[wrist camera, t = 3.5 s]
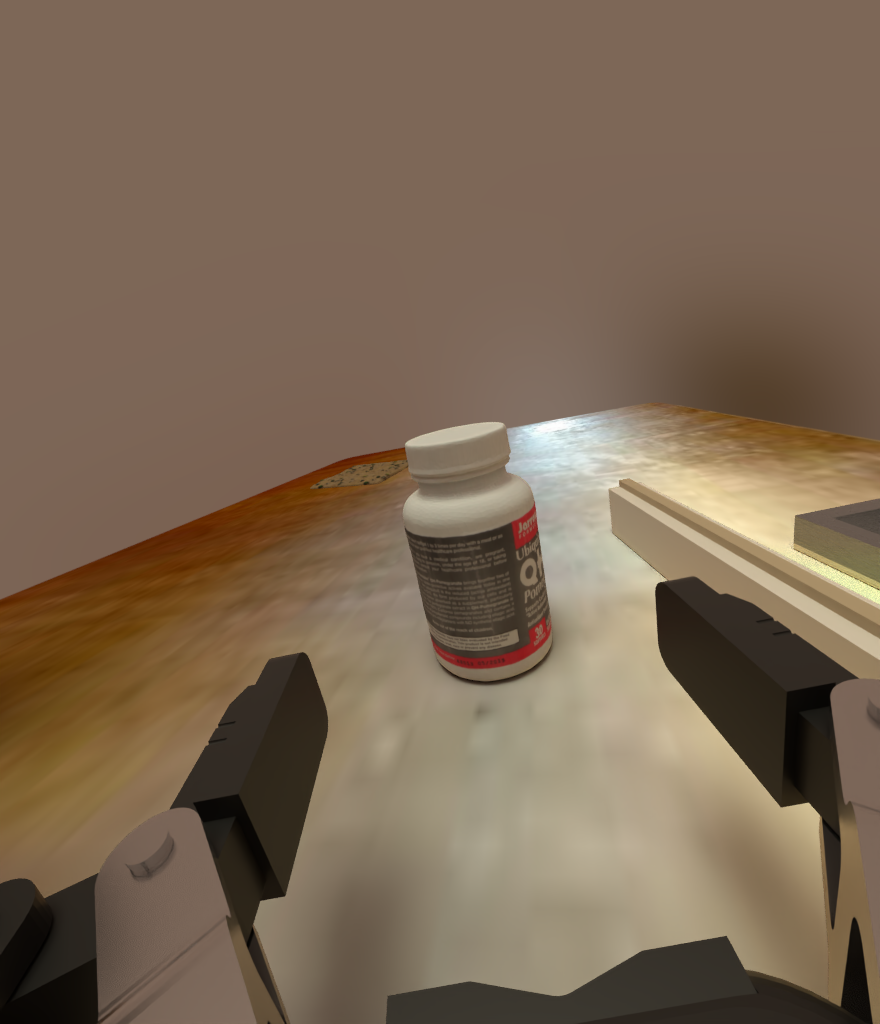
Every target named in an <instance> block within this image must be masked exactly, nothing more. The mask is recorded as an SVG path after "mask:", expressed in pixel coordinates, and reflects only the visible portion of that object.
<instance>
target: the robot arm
mask: <svg viewBox="0 0 880 1024" xmlns="http://www.w3.org/2000/svg"><path fill="white" fill-rule="evenodd" d="M655 596H656V613H657V631H658V644H659V649H660V653H661V656H662V658H663V661H664V663H665V665H666V667H667V668H668V670H669V671H670V673H671V674H672V675H673V676H674V677H675V679H676V680H677V681H678V682H679V683H680V685H681V686H682V687H683V688H684V690H685V691H686V692H687V693H688V694H689V696H690V697H691V698H692V699H693V701H694V702H695V703H696V704H697V705H698V707H699V708H700V709H701V710H702V712H703V713H704V714H705V715H706V716H707V718H708V719H709V720H710V721H711V723H712V724H713V725H714V726H715V727H716V729H717V730H718V731H719V732H720V734H721V735H722V736H723V737H724V738H725V740H726V741H727V742H728V743H729V744H730V746H731V747H732V748H733V749H734V751H735V752H736V753H737V754H738V755H739V757H740V758H741V759H742V760H743V762H744V763H745V764H746V765H747V766H748V768H749V769H750V770H751V771H752V773H753V774H754V775H755V776H756V777H757V779H758V780H759V781H760V782H761V784H762V785H763V786H764V787H765V788H766V790H767V791H768V792H769V793H770V795H771V796H772V797H773V798H774V799H775V801H776V802H777V803H778V804H779V806H780V807H786V806H792V805H797V804H803V803H808V802H809V803H810V804H811V806H812V807H813V808H814V809H815V810H816V811H817V812H818V813H819V814H820V822H819V836H820V849H821V862H822V875H823V888H824V901H825V914H826V927H827V940H828V1000H827V999H825V998H823V997H821V996H819V995H817V994H815V993H813V992H812V991H810V990H807V989H805V988H802V987H800V986H797V985H795V984H793V983H790V982H788V981H785V980H783V979H780V978H776V977H773V976H769V975H766V974H763V973H759V972H755V971H749V970H745V969H744V967H743V965H742V964H741V962H740V960H739V958H738V956H737V954H736V952H735V951H734V949H733V947H732V945H731V943H730V941H729V939H728V938H727V936H723V937H718V938H712V939H707V940H701V941H695V942H690V943H684V944H678V945H673V946H667V947H661V948H656V949H650V950H644V951H641V952H639V953H638V954H636V955H634V956H633V957H631V958H629V959H628V960H626V961H624V962H622V963H621V964H619V965H617V966H616V967H614V968H612V969H611V970H609V971H607V972H605V973H604V974H602V975H600V976H599V977H597V978H595V979H594V980H592V981H590V982H588V983H587V984H585V985H583V986H582V987H580V988H578V989H576V990H575V991H573V992H571V993H569V994H567V995H564V996H550V995H544V994H538V993H533V992H527V991H521V990H516V989H510V988H504V987H498V986H493V985H487V984H481V983H476V982H464V983H458V984H453V985H447V986H441V987H436V988H430V989H424V990H419V991H413V992H408V993H402V994H396V995H391V996H388V999H387V1017H386V1024H880V680H878V679H859V678H858V677H856V676H855V675H854V674H852V673H851V672H849V671H848V670H846V669H845V668H844V667H842V666H841V665H839V664H838V663H837V662H835V661H834V660H832V659H831V658H830V657H828V656H827V655H825V654H824V653H822V652H821V651H820V650H818V649H817V648H815V647H814V646H813V645H811V644H810V643H808V642H807V641H805V640H804V639H803V638H801V637H800V636H798V635H797V634H796V633H794V634H792V633H791V630H790V629H788V628H787V627H786V626H784V625H783V624H781V623H780V622H779V621H774V619H773V617H772V616H770V615H769V614H767V613H766V612H764V611H763V610H762V609H760V608H759V607H757V606H756V605H755V604H753V603H751V602H748V601H745V600H743V599H740V598H738V597H735V596H732V595H730V594H727V593H725V594H719V593H717V592H716V591H715V590H713V589H712V588H711V587H709V586H708V585H707V584H705V583H704V582H703V581H701V580H700V579H699V578H697V577H695V576H690V577H685V578H680V579H675V580H670V581H665V582H660V583H658V584H657V586H656V590H655ZM327 732H328V716H327V710H326V706H325V703H324V700H323V697H322V694H321V691H320V688H319V686H318V683H317V680H316V677H315V674H314V671H313V668H312V665H311V662H310V660H309V658H308V656H307V655H306V654H305V653H304V652H302V653H297V654H292V655H287V656H281V657H276V658H271V659H270V660H269V661H268V662H267V664H266V665H265V667H264V669H263V671H262V673H261V675H260V677H259V679H258V681H257V682H256V684H255V685H251V686H248V687H247V688H246V689H245V690H244V691H243V692H242V693H241V694H240V695H239V696H238V697H237V698H236V699H235V700H234V701H233V702H232V703H231V704H230V705H229V707H228V708H227V710H226V712H225V714H224V715H223V717H222V719H221V721H220V722H219V724H218V728H216V729H215V731H214V733H213V734H212V736H211V738H210V740H209V741H208V742H209V745H208V746H206V747H205V748H204V750H203V752H202V754H201V755H200V757H199V759H198V761H197V762H196V764H195V766H194V768H193V769H192V771H191V773H190V774H189V776H188V778H187V780H186V781H185V783H184V785H183V787H182V788H181V790H180V792H179V794H178V795H177V797H176V799H175V801H174V802H173V804H172V806H171V808H170V809H169V810H167V811H165V812H162V813H160V814H158V815H156V816H154V817H152V818H150V819H148V820H147V821H145V822H144V823H142V824H141V825H139V826H138V827H137V828H135V829H134V830H133V831H132V832H131V833H129V834H128V835H127V836H126V837H125V838H124V839H123V840H122V841H121V842H120V843H119V844H118V845H117V846H116V847H115V849H114V850H113V851H112V852H111V854H110V855H109V856H108V858H107V859H106V861H105V862H104V864H103V866H102V867H101V869H100V872H99V873H97V874H95V875H93V876H91V877H89V878H87V879H85V880H83V881H81V882H78V883H76V884H74V885H72V886H70V887H68V888H66V889H64V890H61V891H59V892H57V893H55V894H53V895H51V896H49V897H47V898H43V896H42V895H41V893H40V892H39V890H38V889H37V888H36V886H35V885H34V884H33V882H32V881H30V880H28V879H14V880H10V881H7V882H3V883H1V884H0V1024H290V1021H289V1018H288V1015H287V1013H286V1010H285V1007H284V1004H283V1001H282V999H281V996H280V993H279V990H278V988H277V985H276V982H275V979H274V976H273V974H272V971H271V968H270V965H269V963H268V960H267V957H266V954H265V952H264V949H263V946H262V943H261V940H260V938H259V935H258V932H257V930H256V928H255V926H254V924H253V923H254V920H255V916H256V913H257V910H258V907H259V903H260V901H262V900H267V899H273V898H278V897H284V896H285V895H286V891H287V888H288V884H289V880H290V876H291V872H292V868H293V864H294V861H295V857H296V853H297V849H298V845H299V841H300V838H301V834H302V830H303V826H304V822H305V818H306V814H307V811H308V807H309V803H310V799H311V795H312V791H313V788H314V784H315V780H316V776H317V772H318V768H319V764H320V761H321V757H322V753H323V749H324V745H325V741H326V738H327Z"/></svg>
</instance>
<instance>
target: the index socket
mask: <svg viewBox="0 0 880 1024" xmlns="http://www.w3.org/2000/svg"><path fill="white" fill-rule="evenodd" d="M794 549H796V550H798V551H800V552H802V553H804V554H806V555H808V556H811V557H813V558H815V559H817V560H819V561H821V562H823V563H825V564H827V565H829V566H831V567H834V568H836V569H838V570H840V571H842V572H844V573H846V574H848V575H850V576H852V577H854V578H857V579H859V580H861V581H863V582H865V583H867V584H869V585H871V586H873V587H875V588H877V589H880V499H875V500H870V501H865V502H860V503H855V504H850V505H845V506H840V507H835V508H830V509H825V510H820V511H815V512H810V513H805V514H800V515H796V516H795V527H794Z"/></svg>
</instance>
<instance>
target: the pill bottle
mask: <svg viewBox="0 0 880 1024" xmlns="http://www.w3.org/2000/svg"><path fill="white" fill-rule="evenodd" d="M405 449H406V454H407V460H408V465H409V472H410V473H411V478H412V479H413V480H414V481H416V482H418V484H419V489H418V490H417V491H415V492H414V493H413V494H412V495H411V496H410V497H409V498H408V499H407V501H406V503H405V505H404V508H403V521H404V526H405V531H406V535H407V538H408V542H409V546H410V550H411V554H412V557H413V562H414V566H415V570H416V574H417V578H418V584H419V588H420V592H421V597H422V602H423V606H424V610H425V614H426V618H427V622H428V625H429V630H430V634H431V639H432V642H433V647H434V650H435V653H436V656H437V659H438V661H439V662H440V664H441V665H443V666H444V667H445V668H446V669H447V670H448V671H450V672H452V673H453V674H455V675H457V676H459V677H462V678H466V679H470V680H478V681H494V680H500V679H504V678H509V677H512V676H515V675H518V674H520V673H523V672H525V671H527V670H529V669H530V668H532V667H533V666H535V665H536V664H537V663H538V662H539V661H541V660H542V659H543V658H544V656H545V655H546V654H547V652H548V650H549V649H550V646H551V643H552V627H551V617H550V611H549V604H548V597H547V590H546V583H545V575H544V568H543V562H542V554H541V546H540V540H539V532H538V526H537V517H536V507H535V501H534V498H533V493H532V490H531V488H530V486H529V485H528V483H527V482H526V481H525V480H523V479H522V478H521V477H519V476H517V475H514V474H511V473H507V472H506V469H505V465H506V464H507V463H508V462H509V459H510V458H509V454H510V453H511V450H510V447H509V442H508V436H507V431H506V427H505V425H504V424H503V423H500V422H485V423H477V424H470V425H464V426H458V427H453V428H448V429H444V430H439V431H436V432H432V433H428V434H425V435H421V436H418V437H416V438H414V439H411V440H409V441H408V442H407V443H406V444H405Z"/></svg>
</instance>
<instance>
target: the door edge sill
mask: <svg viewBox="0 0 880 1024" xmlns="http://www.w3.org/2000/svg"><path fill="white" fill-rule="evenodd" d="M619 485H620V486H619V487H615V488H610V489H609V499H610V511H611V522H612V533H613V534H615V535H616V536H617V537H618V538H619V539H621V540H622V541H623V542H624V543H625V544H626V545H628V546H629V547H630V548H631V549H632V550H633V551H635V552H636V553H637V554H638V555H639V556H641V557H642V558H643V559H644V560H645V561H646V562H648V563H649V564H650V565H651V566H652V567H653V568H655V569H656V570H657V571H658V572H659V573H661V574H662V575H663V576H664V577H665V578H666V579H668V580H669V581H670V580H675V579H680V578H685V577H690V576H695V577H697V578H699V579H700V580H701V581H703V582H704V583H705V584H707V585H708V586H709V587H711V588H712V589H713V590H715V591H716V592H717V593H719V594H725V593H727V594H730V595H732V596H735V597H738V598H740V599H743V600H745V601H748V602H751V603H753V604H755V605H756V606H757V607H759V608H760V609H762V610H763V611H764V612H766V613H767V614H769V615H770V616H772V617H773V619H774V621H779V622H780V623H781V624H783V625H784V626H786V627H787V628H788V629H790V630H791V633H792V634H794V633H796V634H797V635H798V636H800V637H801V638H803V639H804V640H805V641H807V642H808V643H810V644H811V645H813V646H814V647H815V648H817V649H818V650H820V651H821V652H822V653H824V654H825V655H827V656H828V657H830V658H831V659H832V660H834V661H835V662H837V663H838V664H839V665H841V666H842V667H844V668H845V669H846V670H848V671H849V672H851V673H852V674H854V675H855V676H856V677H858V678H859V679H878V680H880V605H879V604H877V603H875V602H873V601H871V600H869V599H867V598H866V597H864V596H862V595H860V594H858V593H856V592H854V591H852V590H850V589H848V588H846V587H844V586H842V585H840V584H838V583H836V582H834V581H832V580H830V579H828V578H826V577H824V576H822V575H821V574H819V573H817V572H815V571H813V570H811V569H809V568H807V567H805V566H803V565H801V564H799V563H797V562H795V561H793V560H791V559H789V558H787V557H785V556H783V555H781V554H779V553H778V552H776V551H774V550H772V549H770V548H768V547H766V546H764V545H762V544H760V543H758V542H756V541H754V540H752V539H750V538H748V537H746V536H744V535H742V534H740V533H738V532H736V531H734V530H733V529H731V528H729V527H727V526H725V525H723V524H721V523H719V522H717V521H715V520H713V519H711V518H709V517H707V516H705V515H703V514H701V513H699V512H697V511H695V510H693V509H691V508H689V507H688V506H686V505H684V504H682V503H680V502H678V501H676V500H674V499H672V498H670V497H668V496H666V495H664V494H662V493H660V492H658V491H656V490H654V489H652V488H650V487H648V486H646V485H645V484H643V483H641V482H639V483H636V482H635V481H633V480H631V479H629V478H628V479H623V480H619Z"/></svg>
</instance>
